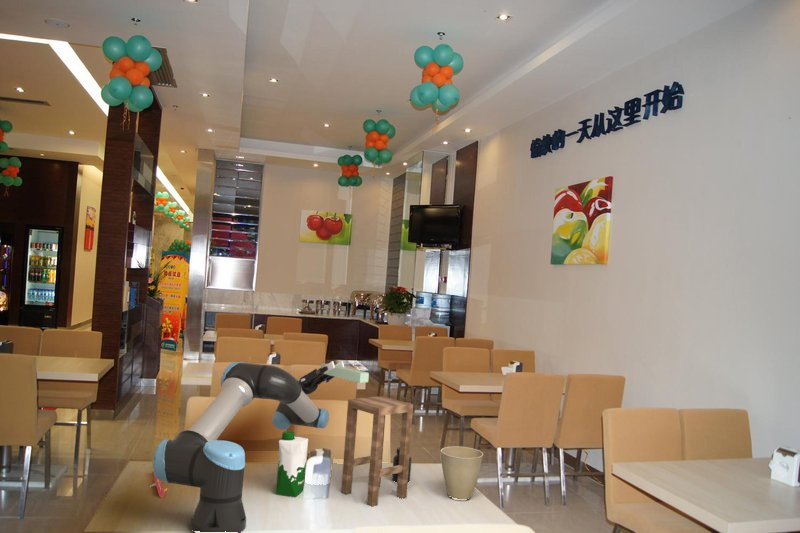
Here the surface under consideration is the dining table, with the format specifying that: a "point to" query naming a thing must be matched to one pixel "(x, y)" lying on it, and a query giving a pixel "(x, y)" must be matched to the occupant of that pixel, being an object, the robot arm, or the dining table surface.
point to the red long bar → (159, 486)
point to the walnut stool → (377, 445)
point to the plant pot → (460, 470)
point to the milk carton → (291, 464)
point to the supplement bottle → (396, 462)
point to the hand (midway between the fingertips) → (338, 364)
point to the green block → (348, 374)
